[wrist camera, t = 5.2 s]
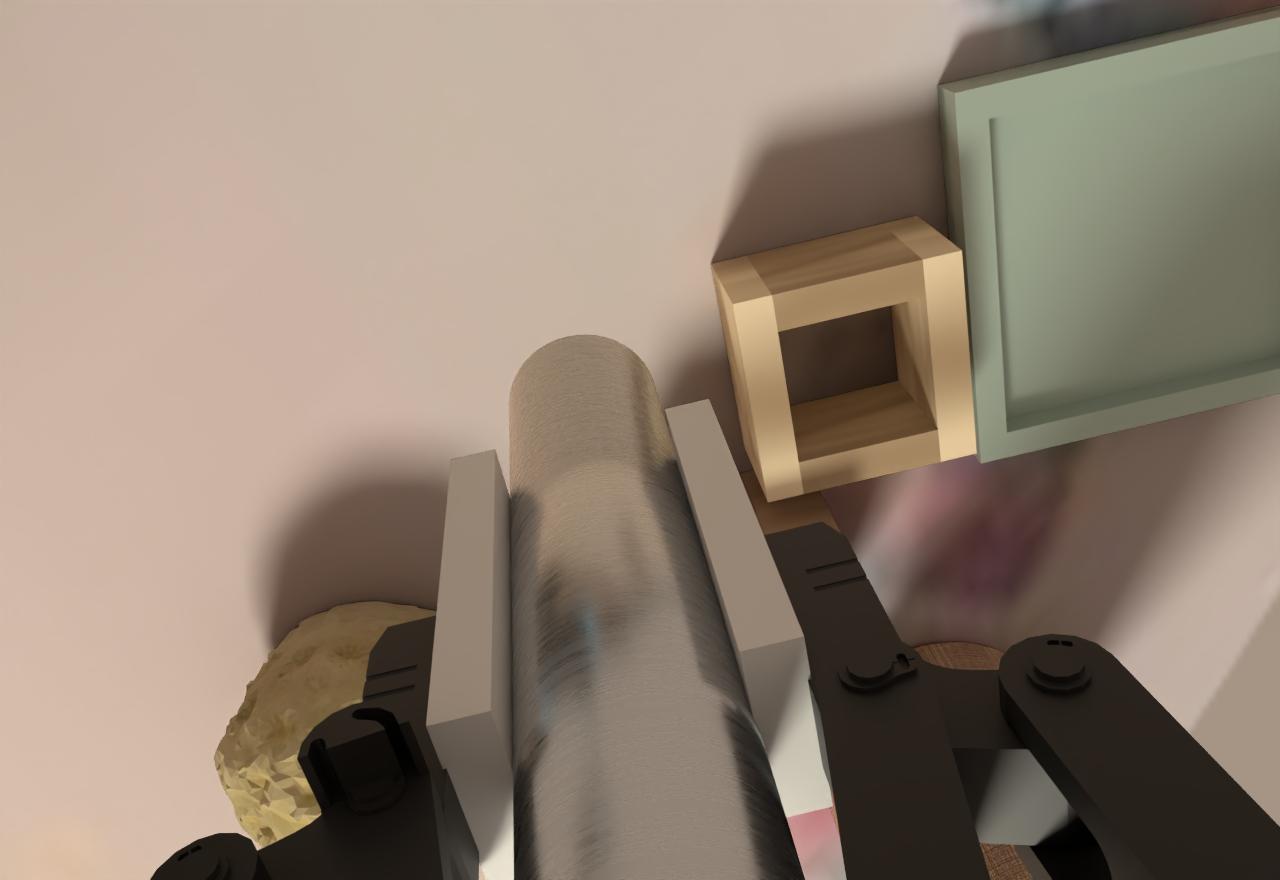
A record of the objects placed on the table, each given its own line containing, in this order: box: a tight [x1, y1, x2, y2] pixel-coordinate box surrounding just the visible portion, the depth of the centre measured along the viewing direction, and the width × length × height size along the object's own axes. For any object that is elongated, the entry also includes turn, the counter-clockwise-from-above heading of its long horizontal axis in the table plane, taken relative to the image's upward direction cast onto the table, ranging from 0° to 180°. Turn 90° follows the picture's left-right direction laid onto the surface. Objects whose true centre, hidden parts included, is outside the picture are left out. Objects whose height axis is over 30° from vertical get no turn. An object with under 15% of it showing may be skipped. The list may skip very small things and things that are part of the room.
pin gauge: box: [509, 335, 805, 880], centre depth 16 cm, size 3×3×14 cm
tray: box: [937, 5, 1280, 464], centre depth 37 cm, size 13×13×2 cm
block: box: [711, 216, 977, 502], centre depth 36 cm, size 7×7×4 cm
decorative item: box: [214, 601, 437, 848], centre depth 39 cm, size 10×10×10 cm
